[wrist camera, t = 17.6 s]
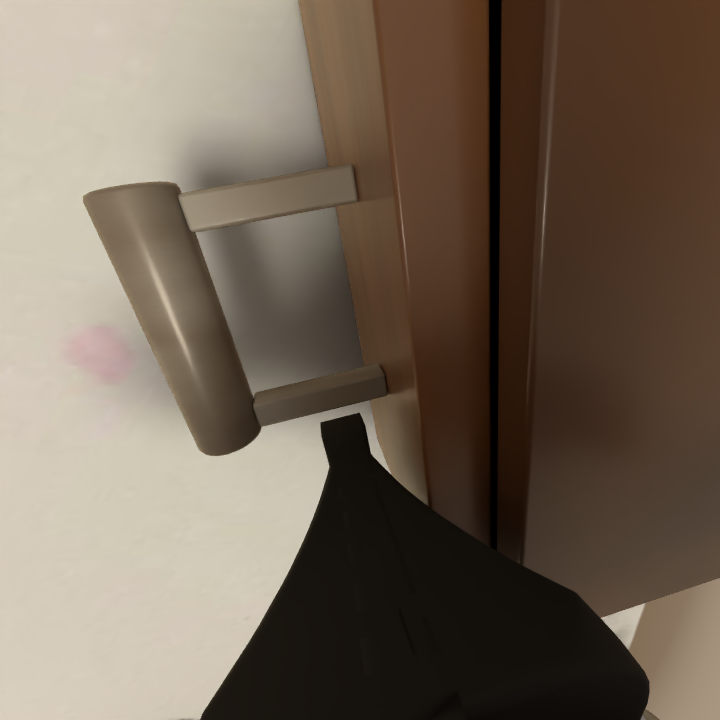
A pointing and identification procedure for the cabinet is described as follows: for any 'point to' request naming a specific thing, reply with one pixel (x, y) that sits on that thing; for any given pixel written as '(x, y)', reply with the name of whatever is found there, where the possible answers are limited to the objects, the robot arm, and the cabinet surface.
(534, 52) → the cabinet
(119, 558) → the cabinet surface
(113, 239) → the drawer
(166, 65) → the cabinet surface
